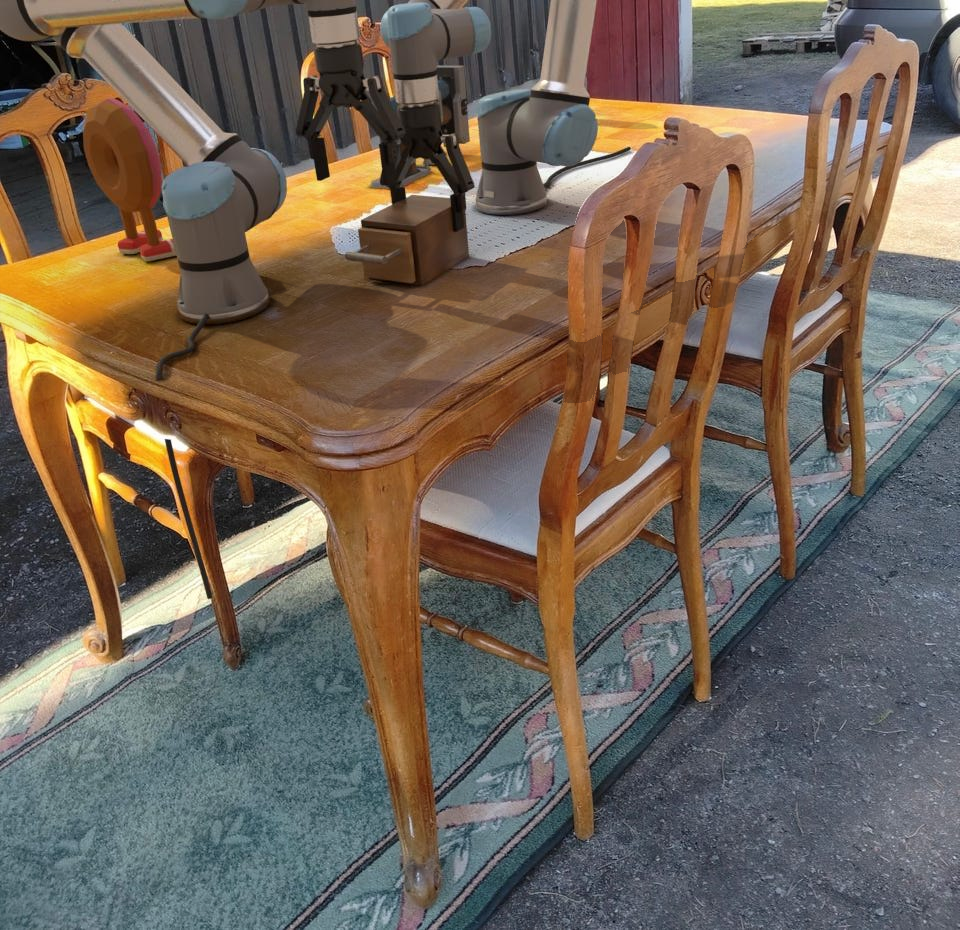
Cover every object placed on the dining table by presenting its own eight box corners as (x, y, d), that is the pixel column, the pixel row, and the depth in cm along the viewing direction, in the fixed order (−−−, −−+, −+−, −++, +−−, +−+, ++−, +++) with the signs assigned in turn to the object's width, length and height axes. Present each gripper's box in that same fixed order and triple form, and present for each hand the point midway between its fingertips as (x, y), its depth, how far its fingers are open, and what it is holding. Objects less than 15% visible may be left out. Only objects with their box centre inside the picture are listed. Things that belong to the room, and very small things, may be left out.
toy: (203, 253, 194) (168, 96, 179) (158, 268, 188) (118, 106, 172) (148, 236, 207) (111, 88, 192) (105, 250, 201) (62, 98, 186)
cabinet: (421, 285, 169) (415, 225, 163) (368, 278, 174) (360, 219, 169) (469, 256, 181) (464, 199, 175) (418, 250, 186) (411, 194, 181)
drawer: (392, 295, 163) (386, 245, 159) (344, 288, 168) (336, 239, 163) (457, 256, 178) (452, 209, 174) (410, 250, 183) (405, 205, 178)
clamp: (398, 189, 225) (386, 93, 214) (367, 187, 229) (354, 92, 218) (470, 153, 251) (464, 65, 240) (441, 151, 255) (433, 65, 244)
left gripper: (417, 39, 148) (431, 178, 159) (288, 41, 159) (310, 171, 170) (390, 47, 143) (407, 191, 153) (259, 48, 154) (283, 182, 164)
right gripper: (488, 100, 164) (496, 226, 175) (374, 96, 175) (389, 215, 186) (465, 109, 158) (476, 238, 170) (349, 105, 170) (366, 227, 181)
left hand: (356, 181), depth 162 cm, fingers open, 13 cm apart
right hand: (430, 226), depth 178 cm, fingers closed on cabinet, 11 cm apart
